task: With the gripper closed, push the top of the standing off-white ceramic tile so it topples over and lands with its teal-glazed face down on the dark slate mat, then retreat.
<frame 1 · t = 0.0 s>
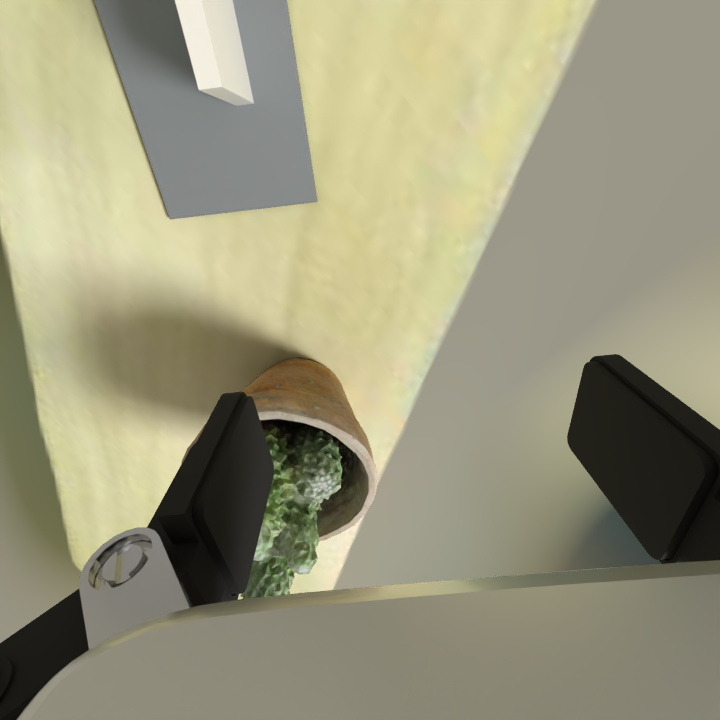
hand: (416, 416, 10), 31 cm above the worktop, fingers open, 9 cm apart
potted plant: (301, 392, 48), on the worktop
tile: (234, 53, 30), resting on mat
mat: (210, 73, 31), on the worktop
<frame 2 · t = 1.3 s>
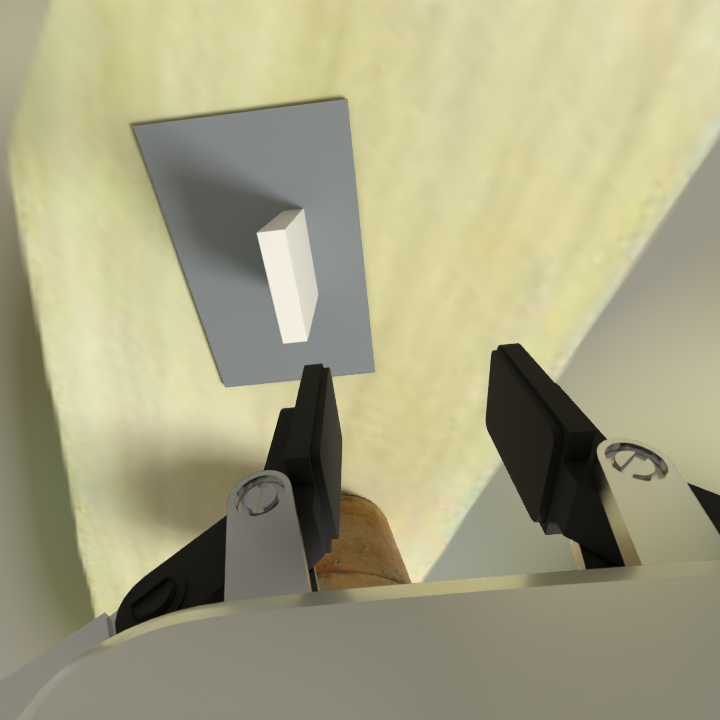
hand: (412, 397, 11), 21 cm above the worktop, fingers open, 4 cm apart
potted plant: (344, 521, 47), on the worktop
tile: (301, 255, 30), resting on mat
mat: (275, 269, 31), on the worktop
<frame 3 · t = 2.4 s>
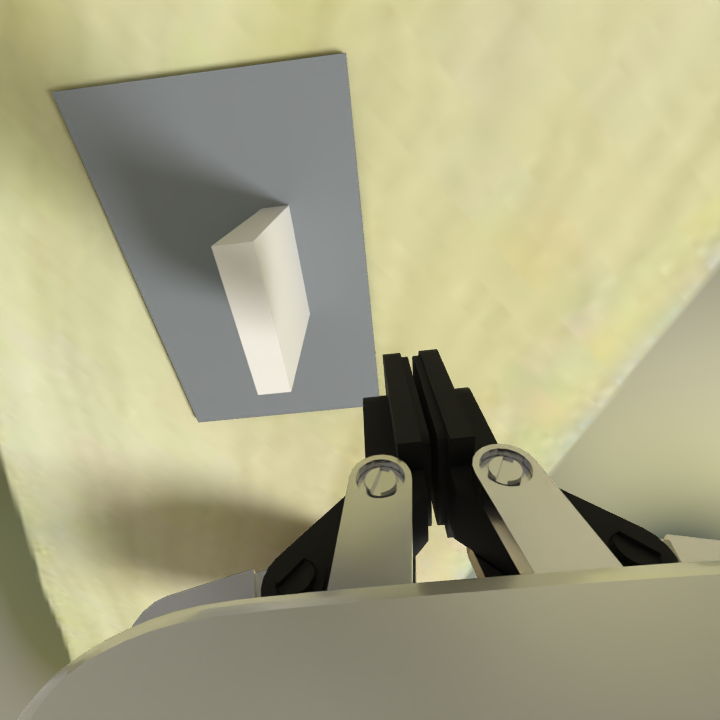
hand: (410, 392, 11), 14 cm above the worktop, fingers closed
tile: (287, 265, 23), resting on mat
mat: (254, 282, 24), on the worktop
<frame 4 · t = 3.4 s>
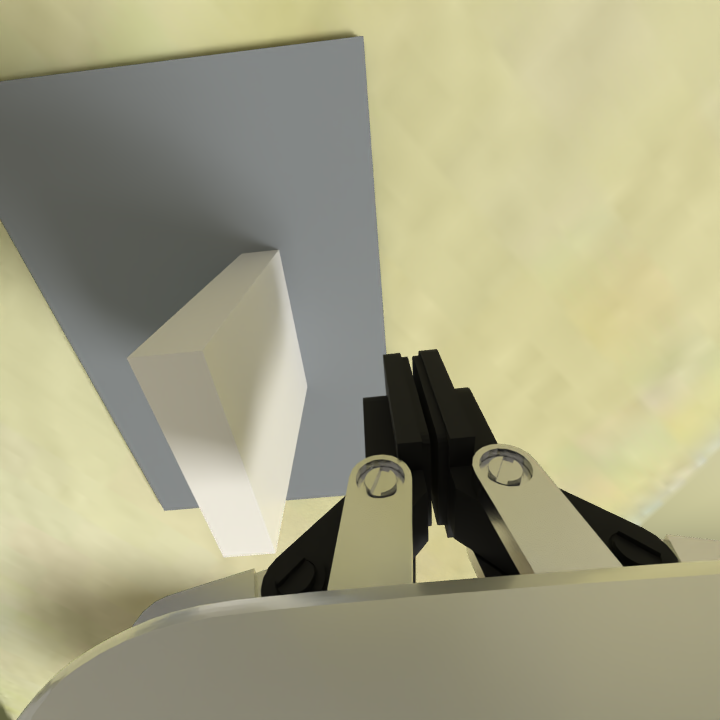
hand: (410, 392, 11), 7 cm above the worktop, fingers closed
tile: (277, 326, 17), resting on mat
mat: (233, 346, 18), on the worktop
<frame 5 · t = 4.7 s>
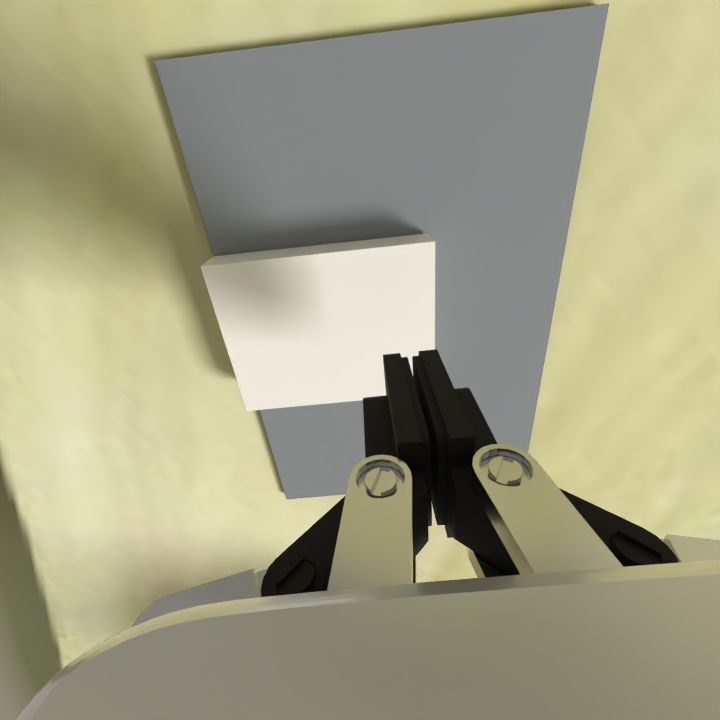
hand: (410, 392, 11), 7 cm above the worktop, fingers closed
tile: (431, 318, 16), point 1 cm above the worktop, tilted 90°, touching mat
mat: (393, 329, 18), on the worktop
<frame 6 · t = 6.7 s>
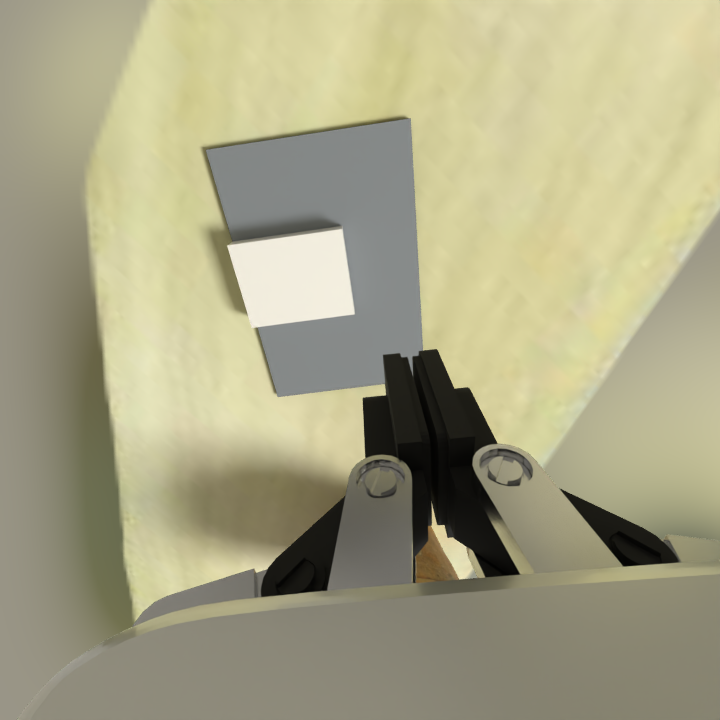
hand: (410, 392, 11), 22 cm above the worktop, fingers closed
potted plant: (386, 527, 48), on the worktop
tile: (348, 271, 30), point 1 cm above the worktop, tilted 90°, touching mat
mat: (332, 281, 32), on the worktop
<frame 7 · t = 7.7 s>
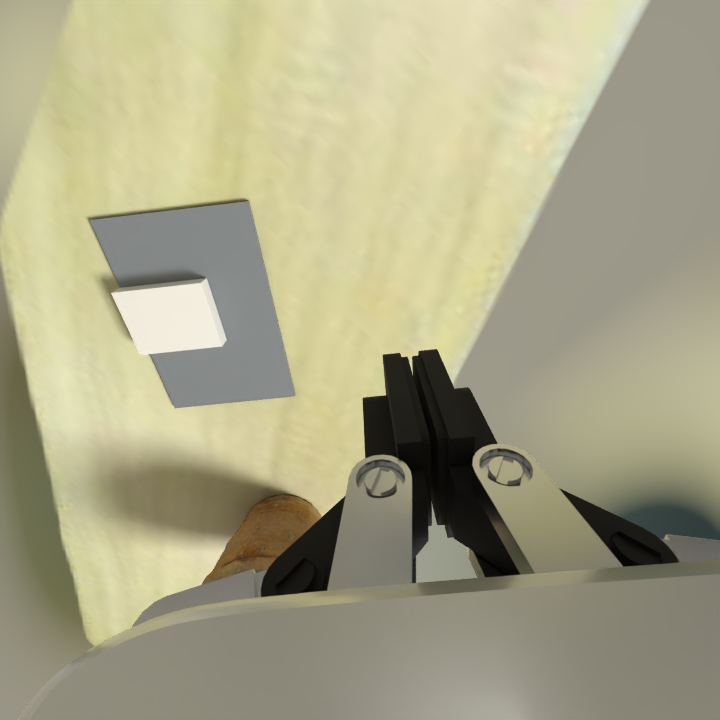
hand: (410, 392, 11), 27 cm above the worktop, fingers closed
potted plant: (286, 517, 56), on the worktop
tile: (214, 313, 37), point 1 cm above the worktop, tilted 90°, touching mat
mat: (207, 318, 39), on the worktop
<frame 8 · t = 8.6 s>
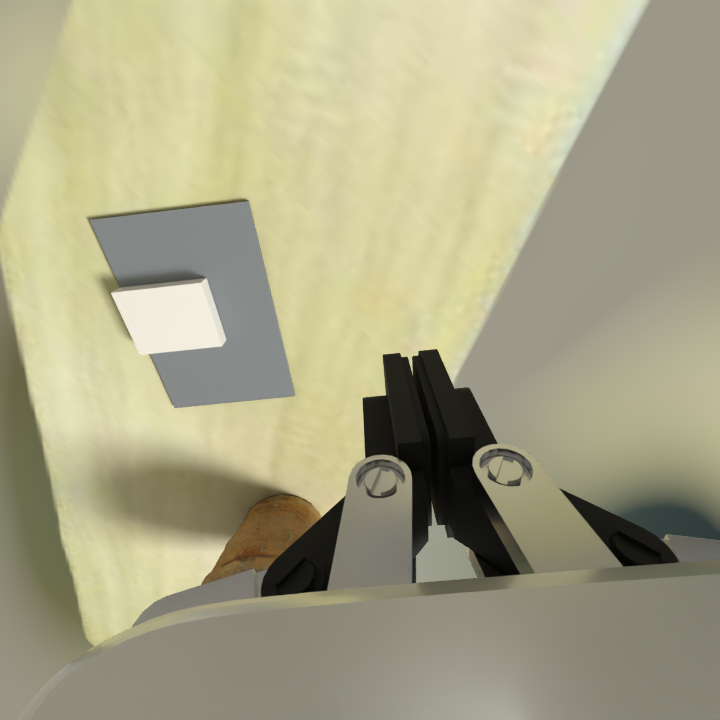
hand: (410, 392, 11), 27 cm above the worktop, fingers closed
potted plant: (286, 517, 56), on the worktop
tile: (214, 313, 37), point 1 cm above the worktop, tilted 90°, touching mat
mat: (207, 318, 39), on the worktop
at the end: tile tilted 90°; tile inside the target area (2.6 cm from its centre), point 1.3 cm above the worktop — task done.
